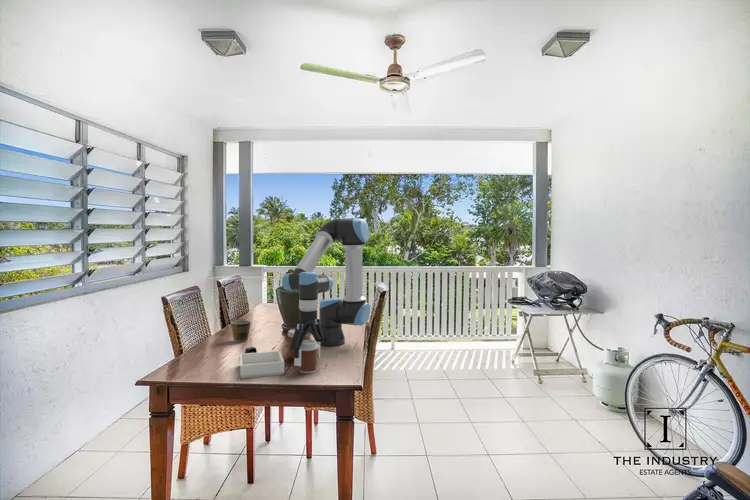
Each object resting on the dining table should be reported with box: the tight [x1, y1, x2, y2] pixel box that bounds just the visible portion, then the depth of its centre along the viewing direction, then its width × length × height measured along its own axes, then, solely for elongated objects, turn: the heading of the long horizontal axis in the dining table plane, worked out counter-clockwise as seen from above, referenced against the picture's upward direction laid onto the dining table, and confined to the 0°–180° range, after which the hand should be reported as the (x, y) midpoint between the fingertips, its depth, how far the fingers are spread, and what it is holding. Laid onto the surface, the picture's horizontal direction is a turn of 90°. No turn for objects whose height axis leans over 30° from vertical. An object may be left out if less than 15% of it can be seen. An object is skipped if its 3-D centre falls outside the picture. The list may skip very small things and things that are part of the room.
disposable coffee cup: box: [286, 328, 309, 359], centre depth 184 cm, size 10×10×12 cm
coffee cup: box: [299, 339, 319, 374], centre depth 164 cm, size 9×9×12 cm
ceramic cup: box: [230, 319, 252, 343], centre depth 209 cm, size 13×10×10 cm
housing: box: [239, 350, 285, 379], centre depth 165 cm, size 17×17×5 cm
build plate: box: [244, 346, 258, 354], centre depth 183 cm, size 12×7×5 cm, turn 138°
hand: (307, 361), depth 164 cm, fingers open, 13 cm apart
